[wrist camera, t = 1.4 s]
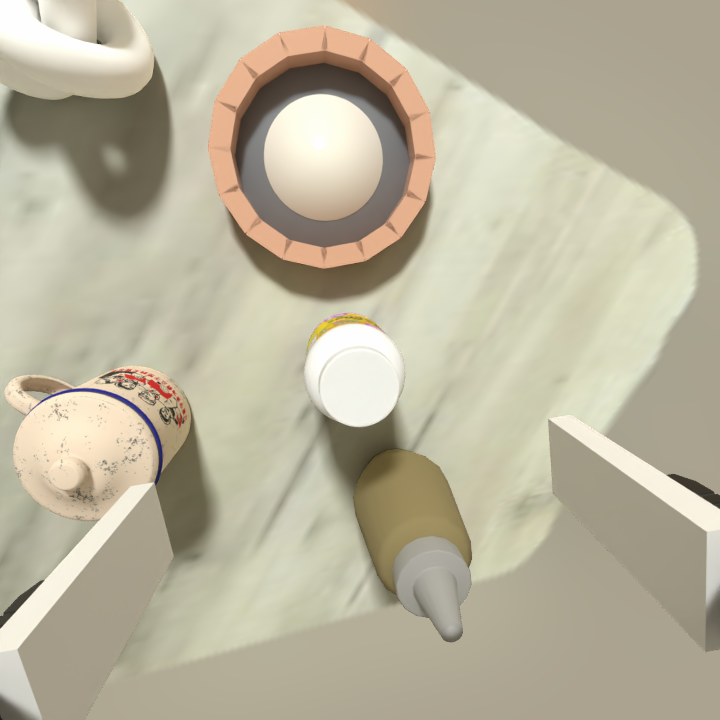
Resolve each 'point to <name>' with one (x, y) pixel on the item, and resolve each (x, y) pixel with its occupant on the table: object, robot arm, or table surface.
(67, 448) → the teacup with lid
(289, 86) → the saucer tray
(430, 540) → the squeeze bottle
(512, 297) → the table surface
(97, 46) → the white decorative knot
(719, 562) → the robot arm
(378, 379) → the supplement bottle
